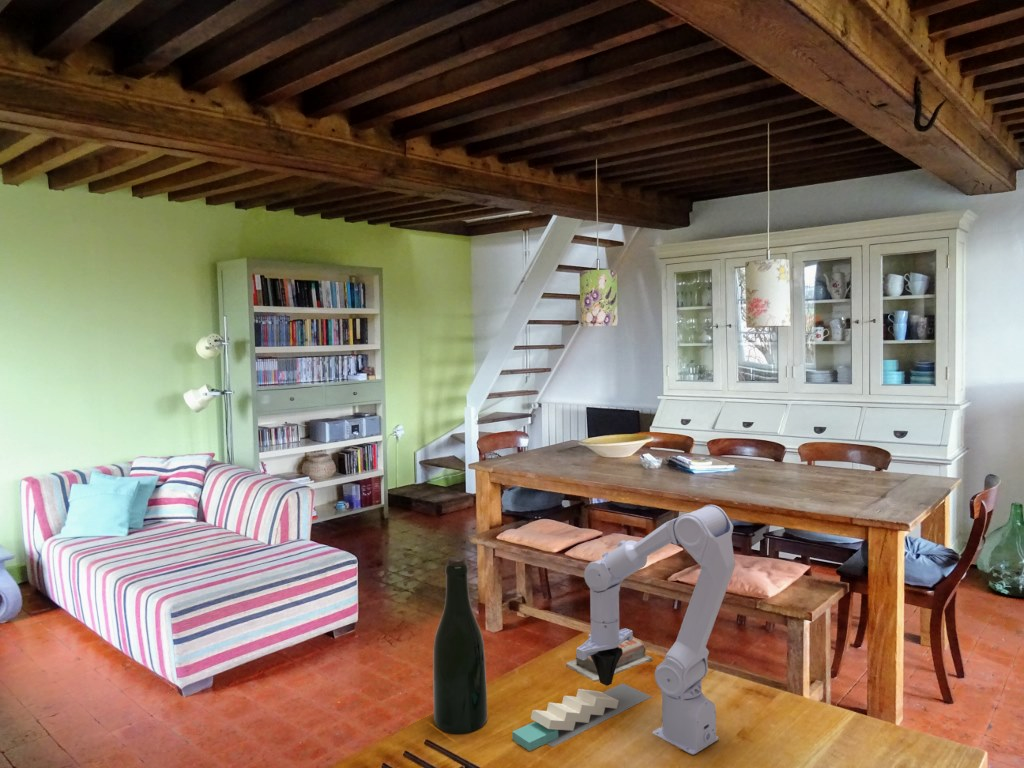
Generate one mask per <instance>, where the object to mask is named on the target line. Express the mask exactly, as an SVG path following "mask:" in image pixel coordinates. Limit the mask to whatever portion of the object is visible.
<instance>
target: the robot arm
mask: <svg viewBox="0 0 1024 768" xmlns="http://www.w3.org/2000/svg"><path fill="white" fill-rule="evenodd" d="M733 530H734V525H733V523H732V522H731V520H730V518H729V516H728V515H727V514H726V512H725V510H723V508H721V507H720V506H718V505H715V504H706V505H703V506H702V507H701V508H699V509H696V510H693V511H691V512H688V513H684V514H681V515H680V516H678V517H676V518H673V519H670V520H668V521H666V522H665V523H663V524H661V525H660V526H658V527H657V528H656V529H654V530H653V531H651V532H650V533H649V534H647V535H646V536H644V537H643V538H642V539H640V540H639V541H636V540H631V539H630V540H627V541H626V539H623V540H620V541H619V542H618V543H617V544H616V545H617V547H616V548H614V549H613V550H611V551H609V552H608V551H606V552H603V554H601V558H599V559H598V560H595V561H590V562H589V563H588V565H586V567H585V569H584V573H583V576H584V577H583V578H584V580H585V584H586V585H587V587H589V593H590V594H589V595H590V596H589V597H590V598H589V599H590V601H589V602H590V603H589V604H590V607H589V608H590V633H588V635H587V636H588V639H587V640H586V641H584V643H582V644H581V645H580V646H578V647H576V650H575V652H576V653H575V658H576V657H577V658H579V659H581V660H586V659H587V657H588V656H590V657H591V658H592V660H593V662H594V664H595V667H596V669H597V673H598V676H599V680H598V681H599V683H600V684H602V685H604V686H605V687H607V686H608V687H609V686H610V685H612V683H613V680H614V675H615V674H614V672H615V669H616V666H617V663H618V661H619V659H620V657H621V656H622V654H623V650H622V649H621V648H619V647H618V646H619V645H620V644H621V643H622V642H624V641H626V640H628V641H631V640H633V637H634V635H633V634H634V633H633V630H631V629H628V628H621V629H620V591H621V584H622V582H623V581H624V580H625V579H626V578H628V577H630V576H631V575H632V574H635V573H636V572H638V571H639V570H641V569H643V568H644V567H645V566H646V565H647V562H648V556H650V555H652V554H653V553H655V552H657V551H659V550H661V549H662V548H665V547H667V546H668V545H670V544H673V545H675V546H679V545H680V546H682V547H683V549H684V550H686V552H687V553H688V554H689V555H690V556H691V557H692V558H693V559H694V561H695V562H696V563H697V565H699V566H700V571H699V574H698V577H697V581H696V582H695V585H694V589H693V592H692V594H691V598H690V600H689V603H688V606H687V608H686V612H685V614H684V617H683V621H682V623H681V626H680V629H679V632H678V634H677V638H676V640H675V642H674V643H673V645H671V647H670V649H668V651H667V653H666V654H665V656H664V659H663V661H662V662H660V663H659V664H658V665H657V666H656V668H655V670H654V679H655V683H656V686H657V687H658V688H659V690H660V692H661V693H660V694H661V700H662V701H661V703H662V704H661V705H662V706H661V717H662V719H661V721H662V722H661V723H662V724H661V725H662V726H661V727H658V728H656V729H655V730H653V731H652V735H653V736H656V737H658V738H659V739H661V740H664V741H666V742H668V743H669V744H672V745H673V746H675V747H677V748H679V749H681V751H684V752H685V753H688V754H690V755H692V756H694V755H696V754H698V753H699V752H700V751H703V750H704V749H705V748H707V747H709V746H710V745H712V744H713V743H715V742H717V741H719V736H718V735H717V710H716V705H715V703H714V701H712V700H710V699H709V698H708V697H706V696H705V694H704V693H703V691H702V686H703V685H702V682H703V681H702V680H703V679H705V677H706V676H707V674H708V671H709V665H708V656H709V654H710V651H709V649H708V648H707V644H708V643H709V642H708V641H709V639H710V636H711V634H712V631H713V628H714V625H715V623H716V619H717V616H718V615H719V611H720V609H721V606H722V603H723V601H724V598H725V595H726V592H727V589H728V587H729V583H730V581H731V579H732V575H733V573H734V570H735V567H736V566H735V565H736V561H735V555H734V547H733V541H732V539H733V538H732V535H733Z"/></svg>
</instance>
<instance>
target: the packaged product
mask: <svg viewBox="0 0 1024 768" xmlns="http://www.w3.org/2000/svg"><path fill="white" fill-rule="evenodd" d="M618 647H619V648H621V649H622V650H623V654H622V656H621V657H620V659H619V661H618V663H617V666H616V669H615V672H614V675H616V674H618V673H621V672H623V671H627V670H629V669H631V668H633V667H636V666H640V665H641V664H644V663H649V662H652V661H653V657H652V656H650V655H648V654H646V651H647V650H646V647H645V644H644V642H643V641H642V639H639V638H637V637H635V636H633V640H631V641H628V640H626V641H624V642H622V643H621V644H620V645H619V646H618ZM565 665H566V667H567V668H568V669H570V670H573V671H575V672H576V673H578V674H580V675H581V676H584V677H585V678H587V679H589V680H591V681H594V682H598V681H600V680H599V676H598V673H597V669H596V667H595V664H594V662H593V660H592V658H591V657H590V656H588V657H587V659H586V660H581V659H579V658H577V657H576V656H575V659H572V660H570V661H567V662H566V663H565Z"/></svg>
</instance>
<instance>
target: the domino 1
mask: <svg viewBox="0 0 1024 768" xmlns="http://www.w3.org/2000/svg"><path fill="white" fill-rule="evenodd" d="M557 738H558V730H556V729H548V728H546V727H544V726H543V725H541V724H539V723H537V722H536V721H533V722H531V723H528V724H526V725H524V726H521V727H519V728H517V729H515V730H512V738H511V739H512V741H514V742H515V743H517V744H518V745H519V746H521V747H523V748H524V749H526V750H527V751H529V752H531V751H532V750H534V749H537V748H539V747H541V746H544V745H545V744H547V743H548V742H550V741H552V740H554V739H557Z"/></svg>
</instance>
